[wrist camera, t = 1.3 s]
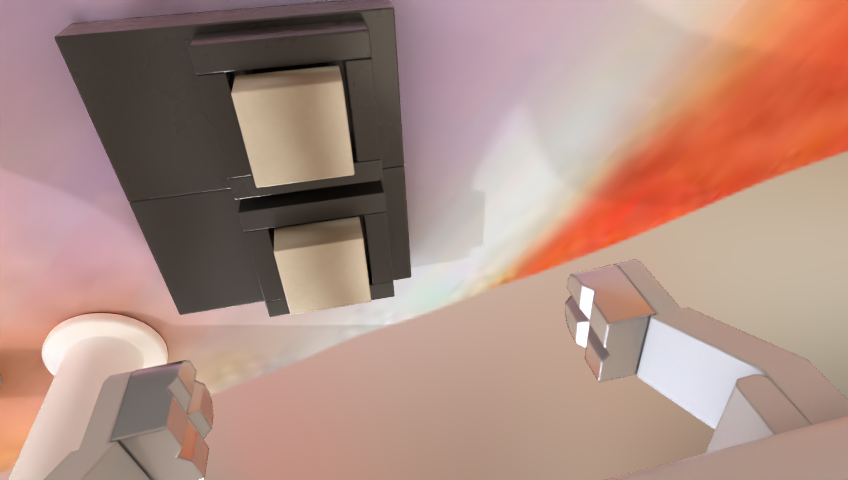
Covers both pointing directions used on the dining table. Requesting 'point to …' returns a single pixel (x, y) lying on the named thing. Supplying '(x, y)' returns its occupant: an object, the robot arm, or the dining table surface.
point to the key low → (322, 265)
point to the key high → (294, 125)
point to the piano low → (267, 239)
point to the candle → (82, 382)
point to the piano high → (229, 90)
